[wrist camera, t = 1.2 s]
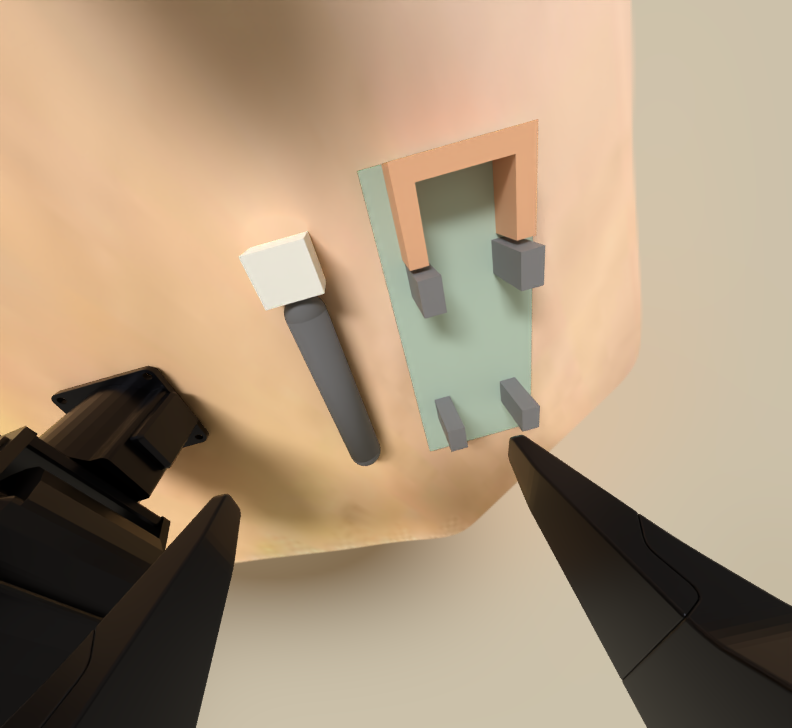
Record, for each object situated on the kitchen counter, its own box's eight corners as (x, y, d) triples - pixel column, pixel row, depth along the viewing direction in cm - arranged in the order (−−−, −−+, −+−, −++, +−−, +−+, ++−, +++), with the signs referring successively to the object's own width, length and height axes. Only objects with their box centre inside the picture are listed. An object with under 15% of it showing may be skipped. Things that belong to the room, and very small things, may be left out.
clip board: (428, 447, 27) (441, 486, 23) (357, 171, 15) (361, 169, 12) (527, 419, 27) (554, 454, 23) (528, 122, 15) (581, 106, 12)
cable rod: (350, 454, 26) (351, 477, 24) (251, 247, 16) (238, 256, 14) (386, 443, 26) (390, 466, 24) (307, 230, 16) (303, 238, 14)
